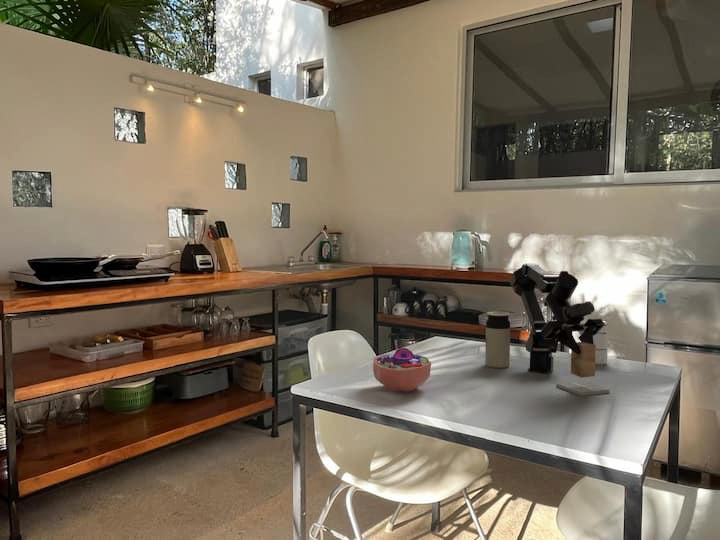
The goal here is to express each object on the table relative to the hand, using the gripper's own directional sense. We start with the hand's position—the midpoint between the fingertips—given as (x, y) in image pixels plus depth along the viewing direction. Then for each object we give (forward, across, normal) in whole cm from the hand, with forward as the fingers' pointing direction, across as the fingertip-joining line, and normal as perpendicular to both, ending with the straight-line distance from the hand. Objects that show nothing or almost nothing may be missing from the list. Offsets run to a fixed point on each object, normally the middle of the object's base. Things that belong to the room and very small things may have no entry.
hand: (586, 352), depth 155 cm
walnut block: (+4, 0, +6) cm, 7 cm away
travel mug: (-16, -6, +32) cm, 37 cm away
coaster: (+7, 0, +8) cm, 11 cm away
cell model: (-5, -49, +21) cm, 53 cm away
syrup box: (-12, +30, +28) cm, 43 cm away
